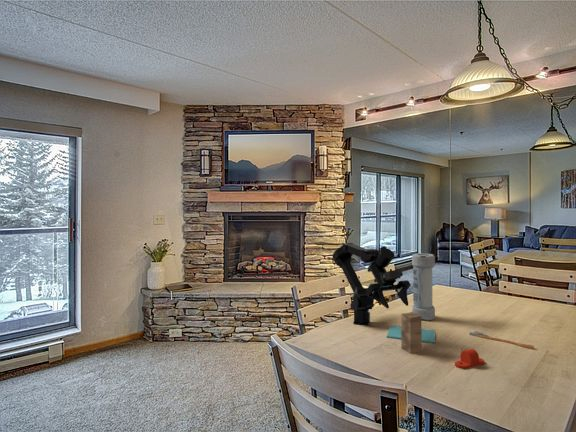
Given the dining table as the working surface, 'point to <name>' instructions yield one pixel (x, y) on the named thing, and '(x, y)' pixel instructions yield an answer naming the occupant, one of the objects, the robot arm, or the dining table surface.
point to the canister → (423, 285)
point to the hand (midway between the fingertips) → (398, 306)
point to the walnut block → (411, 332)
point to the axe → (483, 335)
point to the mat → (426, 334)
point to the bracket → (469, 359)
